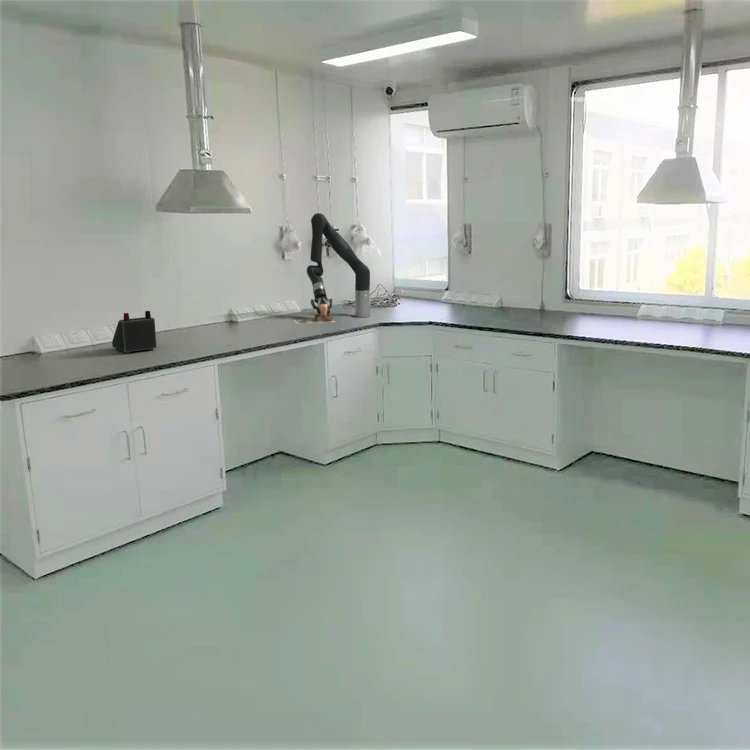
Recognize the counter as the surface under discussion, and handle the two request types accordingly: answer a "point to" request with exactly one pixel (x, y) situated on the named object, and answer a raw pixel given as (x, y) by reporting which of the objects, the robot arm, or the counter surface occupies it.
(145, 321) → the voltmeter
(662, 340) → the counter surface
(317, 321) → the station board
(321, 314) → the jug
